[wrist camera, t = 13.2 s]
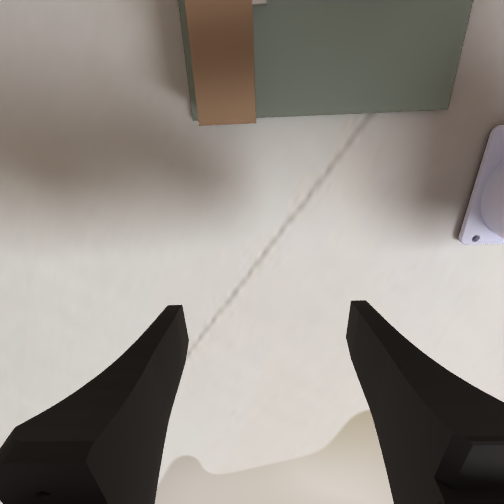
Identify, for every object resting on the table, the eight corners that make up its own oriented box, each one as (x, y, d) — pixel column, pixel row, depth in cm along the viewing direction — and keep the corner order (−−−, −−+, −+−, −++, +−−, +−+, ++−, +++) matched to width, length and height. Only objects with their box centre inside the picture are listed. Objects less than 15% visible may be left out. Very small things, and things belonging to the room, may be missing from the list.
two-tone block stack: (267, 110, 19) (271, 122, 15) (200, 113, 19) (183, 126, 15) (264, -106, 14) (267, -181, 10) (177, -100, 15) (143, -172, 10)
